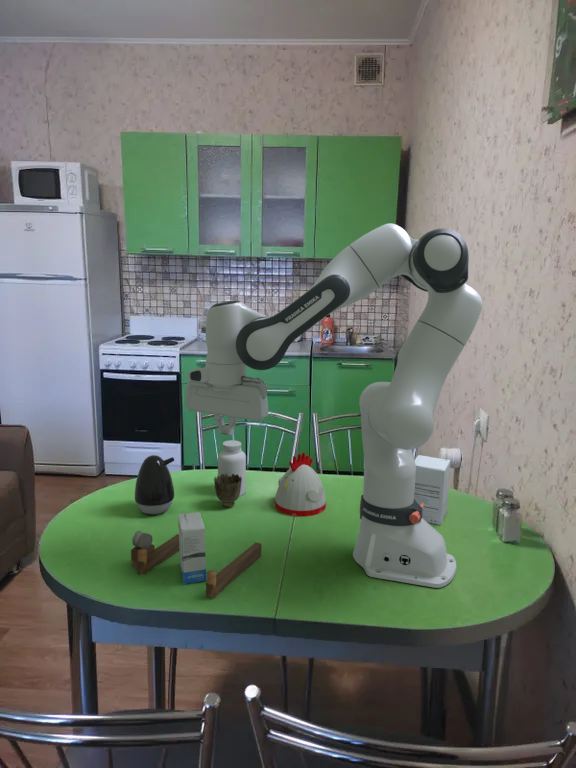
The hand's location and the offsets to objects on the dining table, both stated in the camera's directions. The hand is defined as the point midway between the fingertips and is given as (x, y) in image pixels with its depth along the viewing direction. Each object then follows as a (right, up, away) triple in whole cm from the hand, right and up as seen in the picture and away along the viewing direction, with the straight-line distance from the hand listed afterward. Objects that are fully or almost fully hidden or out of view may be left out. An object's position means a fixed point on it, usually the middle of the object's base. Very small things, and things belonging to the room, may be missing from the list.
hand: (226, 433), depth 125 cm
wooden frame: (-6, -28, -5) cm, 29 cm away
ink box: (-6, -29, -9) cm, 31 cm away
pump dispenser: (-21, -22, +21) cm, 37 cm away
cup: (-2, -22, +24) cm, 33 cm away
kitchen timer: (+17, -22, +26) cm, 38 cm away
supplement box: (+51, -24, +21) cm, 60 cm away
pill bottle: (-2, -20, +33) cm, 39 cm away
